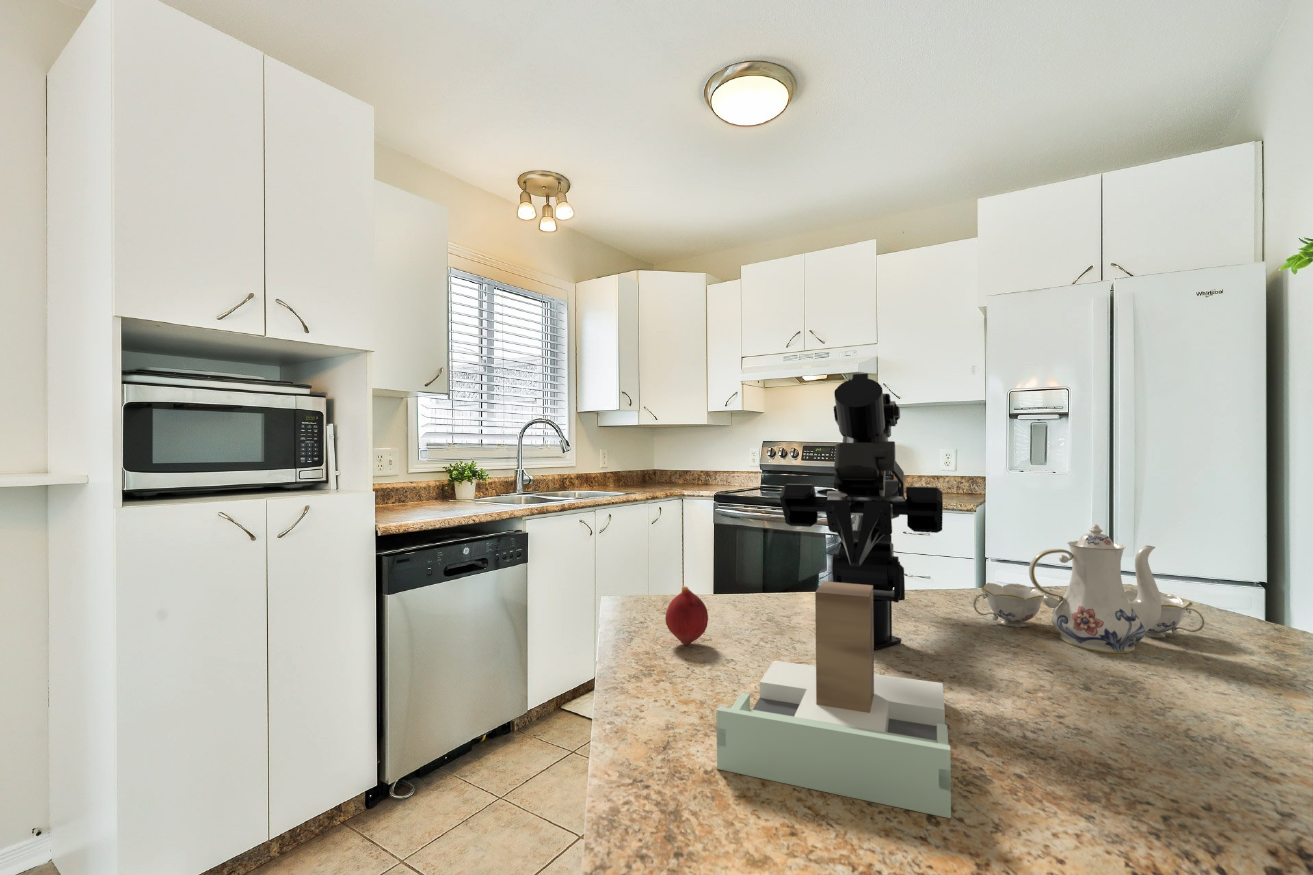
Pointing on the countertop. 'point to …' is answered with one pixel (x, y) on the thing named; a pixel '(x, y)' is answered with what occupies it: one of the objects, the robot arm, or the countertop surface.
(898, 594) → the robot arm
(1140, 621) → the chinaware
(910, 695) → the box
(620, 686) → the countertop surface
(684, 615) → the onion
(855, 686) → the walnut block
